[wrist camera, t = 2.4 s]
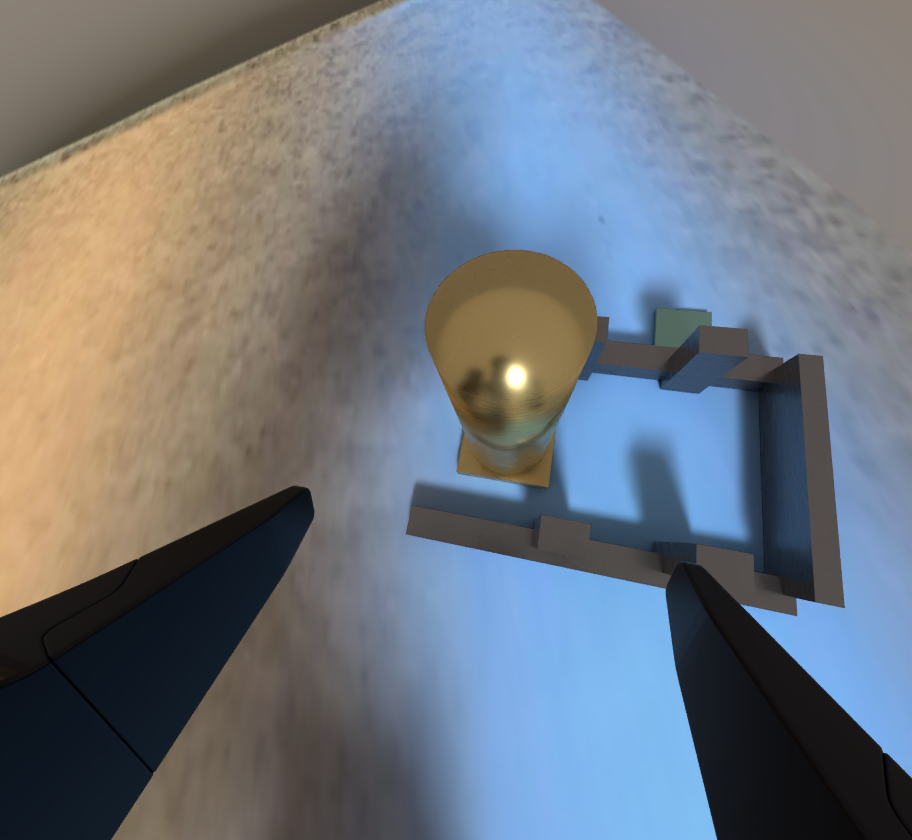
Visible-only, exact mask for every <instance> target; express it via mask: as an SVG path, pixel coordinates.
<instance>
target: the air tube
mask: <svg viewBox="0 0 912 840" xmlns="http://www.w3.org/2000/svg"><path fill="white" fill-rule="evenodd" d="M596 332H597V312H596V307H595V303H594V300H593V297H592V295H591V293H590V291H589V289H588V287H587V286H586V284H585V283H584V281H583V280H582V279H581V278H580V277H579V276H578V275H577V274H576V273H575V272H574V271H573V270H572V269H571V268H569V267H568V266H567V265H565V264H563V263H562V262H560V261H558V260H556V259H554V258H552V257H550V256H547V255H544V254H541V253H537V252H532V251H525V250H504V251H497V252H492V253H488V254H485V255H482V256H479V257H477V258H474V259H472V260H470V261H468V262H466V263H465V264H463V265H461V266H460V267H458V268H457V269H456V270H454V271H453V272H452V273H451V274H450V275H449V276H448V277H447V278H446V279H445V280H444V281H443V282H442V283H441V285H440V286H439V287H438V289H437V290H436V292H435V293H434V295H433V297H432V299H431V301H430V304H429V307H428V310H427V313H426V319H425V336H426V342H427V346H428V350H429V352H430V354H431V357H432V359H433V361H434V364H435V366H436V368H437V370H438V373H439V375H440V377H441V380H442V382H443V384H444V387H445V389H446V391H447V393H448V396H449V398H450V400H451V403H452V405H453V407H454V410H455V412H456V414H457V416H458V419H459V421H460V423H461V426H462V428H463V430H464V435H463V441H462V446H461V451H460V456H459V462H458V467H457V473H458V474H463V475H468V476H474V477H480V478H486V479H491V480H497V481H503V482H509V483H515V484H520V485H526V486H532V487H538V488H544V489H548V487H549V480H550V472H551V463H552V455H553V447H554V439H555V430H556V427H557V425H558V423H559V421H560V418H561V416H562V414H563V412H564V409H565V407H566V405H567V403H568V401H569V398H570V396H571V394H572V392H573V389H574V387H575V385H576V383H577V380H578V378H579V376H580V374H581V372H582V369H583V367H584V365H585V363H586V360H587V358H588V356H589V354H590V352H591V349H592V347H593V344H594V341H595V337H596Z"/></svg>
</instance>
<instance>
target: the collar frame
mask: <svg viewBox="0 0 912 840" xmlns="http://www.w3.org/2000/svg"><path fill="white" fill-rule="evenodd" d="M608 324H609V317H599V316H597V332H596V337H595V341H594V344H593V347H592V349H591V352H590V354H589V356H588V358H587V360H586V363H585V365H584V367H583V369H582V372H581V374H580V376H579V378H578V380H587V381H588V379H589V377H590V375H591V373H601V374H610V375H619V376H627V377H636V378H645V379H654V380H661V386H660V389H663V390H672V391H680V392H689V393H697V394H699V393H700V392H702V391H703V390H704V389H706V388H707V387H708V386H715V387H724V388H733V389H742V390H751V391H759V418H760V447H761V476H762V506H763V535H764V565H765V574H764V573H758V572H754V554H749V553H744V552H738V551H733V550H728V549H722V548H717V547H711V546H706V545H701V544H692V543H673V542H654V549H653V552H650V551H645V550H640V549H635V548H629V547H624V546H619V545H614V544H609V543H604V542H598V541H593V540H590V528H591V524H588V523H582V522H577V521H572V520H566V519H561V518H556V517H550V516H545V515H541V516H539V517H537V518H535V519H534V527H533V529H531V528H526V527H521V526H516V525H511V524H505V523H500V522H495V521H490V520H485V519H480V518H474V517H469V516H464V515H459V514H454V513H449V512H443V511H438V510H433V509H428V508H423V507H418V506H412V508H411V512H410V517H409V522H408V526H407V531H406V534H407V535H412V536H417V537H422V538H426V539H431V540H436V541H441V542H445V543H450V544H455V545H460V546H465V547H469V548H474V549H479V550H484V551H488V552H493V553H498V554H503V555H508V556H512V557H517V558H522V559H527V560H531V561H536V562H541V563H546V564H551V565H555V566H560V567H565V568H570V569H574V570H579V571H584V572H589V573H594V574H598V575H603V576H608V577H613V578H617V579H622V580H627V581H632V582H637V583H641V584H646V585H651V586H656V587H660V588H665V589H666V586H667V583H668V581H669V579H670V577H671V575H672V573H673V571H674V569H675V567H676V565H677V563H679V562H680V561H684V562H689V563H694V564H699V565H701V566H702V567H703V568H705V569H706V570H707V571H708V572H709V573H710V574H711V575H712V577H713V578H714V579H715V580H716V581H717V582H718V583H719V584H720V585H721V586H722V587H723V588H724V589H725V590H726V591H727V592H728V593H729V594H730V595H731V596H732V597H733V598H734V599H735V600H736V601H737V602H738V603H739V604H742V605H746V606H751V607H756V608H761V609H766V610H770V611H775V612H780V613H785V614H789V615H794V616H797V604H796V598H799V599H803V600H808V601H812V602H817V603H822V604H827V605H832V606H837V607H842V608H845V606H844V594H843V583H842V571H841V560H840V548H839V537H838V525H837V514H836V502H835V491H834V479H833V467H832V456H831V444H830V433H829V421H828V410H827V398H826V387H825V375H824V364H823V356H816V355H806V354H798V355H796V356H794V357H793V358H791V359H789V360H788V361H786V362H785V363H783V358H779V357H769V356H759V355H748V329H738V328H727V327H715V326H712V312H701V311H688V310H676V309H664V308H656V310H655V318H654V338H653V345H646V344H636V343H625V342H615V341H607V335H608Z"/></svg>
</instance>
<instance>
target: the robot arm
mask: <svg viewBox="0 0 912 840" xmlns="http://www.w3.org/2000/svg"><path fill="white" fill-rule="evenodd" d="M313 518H314V507H313V502H312V497H311V492H310V490H309V489H308V488H305V487H300V486H291V487H289V488H287V489H285V490H283V491H281V492H278V493H276V494H274V495H272V496H270V497H268V498H266V499H263V500H261V501H259V502H257V503H255V504H253V505H251V506H248V507H246V508H244V509H242V510H240V511H238V512H236V513H234V514H231V515H229V516H227V517H225V518H223V519H221V520H219V521H216V522H214V523H212V524H210V525H208V526H206V527H204V528H201V529H199V530H197V531H195V532H193V533H191V534H189V535H186V536H184V537H182V538H180V539H178V540H176V541H174V542H171V543H169V544H167V545H165V546H163V547H161V548H159V549H156V550H154V551H152V552H150V553H148V554H146V555H144V556H142V557H140V558H139V559H135V560H133V561H131V562H129V563H126V564H124V565H122V566H120V567H118V568H116V569H114V570H111V571H109V572H107V573H105V574H102V575H100V576H98V577H96V578H94V579H91V580H89V581H87V582H85V583H82V584H80V585H78V586H75V587H73V588H71V589H68V590H66V591H63V592H61V593H59V594H56V595H54V596H52V597H49V598H47V599H44V600H42V601H39V602H37V603H34V604H32V605H30V606H27V607H25V608H22V609H20V610H17V611H15V612H13V613H10V614H8V615H5V616H3V617H0V840H111V839H112V837H113V836H114V834H115V833H116V831H117V830H118V828H119V826H120V825H121V823H122V822H123V820H124V819H125V817H126V816H127V814H128V813H129V811H130V810H131V808H132V807H133V805H134V804H135V802H136V801H137V799H138V797H139V796H140V794H141V793H142V791H143V790H144V788H145V787H146V785H147V784H148V782H149V781H150V779H151V778H152V776H153V772H155V771H156V769H157V768H158V766H159V765H160V763H161V762H162V760H163V759H164V757H165V756H166V754H167V753H168V751H169V750H170V748H171V746H172V745H173V743H174V742H175V740H176V739H177V737H178V736H179V734H180V733H181V731H182V730H183V728H184V727H185V725H186V724H187V722H188V720H189V719H190V717H191V716H192V714H193V713H194V711H195V710H196V708H197V707H198V705H199V704H200V702H201V701H202V699H203V698H204V696H205V694H206V693H207V691H208V690H209V688H210V687H211V685H212V684H213V682H214V681H215V679H216V678H217V676H218V675H219V673H220V672H221V670H222V668H223V667H224V665H225V664H226V662H227V661H228V659H229V658H230V656H231V655H232V653H233V652H234V650H235V649H236V647H237V646H238V644H239V642H240V641H241V639H242V638H243V636H244V635H245V633H246V632H247V630H248V629H249V627H250V626H251V624H252V623H253V621H254V620H255V618H256V616H257V615H258V613H259V612H260V610H261V609H262V607H263V606H264V604H265V603H266V601H267V600H268V598H269V597H270V595H271V594H272V592H273V590H274V589H275V587H276V586H277V584H278V583H279V581H280V580H281V578H282V577H283V575H284V573H285V572H286V570H287V568H288V566H289V565H290V563H291V561H292V559H293V557H294V555H295V553H296V551H297V549H298V547H299V545H300V544H301V542H302V540H303V538H304V536H305V534H306V532H307V530H308V528H309V526H310V524H311V522H312V520H313ZM666 601H667V608H668V616H669V623H670V631H671V638H672V646H673V654H674V660H675V667H676V671H677V676H678V681H679V685H680V689H681V693H682V697H683V701H684V705H685V709H686V713H687V718H688V722H689V726H690V730H691V734H692V738H693V742H694V746H695V750H696V755H697V759H698V763H699V767H700V771H701V775H702V779H703V783H704V787H705V792H706V796H707V800H708V804H709V808H710V812H711V816H712V820H713V824H714V828H715V833H716V837H717V840H912V778H911V777H910V776H909V775H908V774H907V773H906V772H905V771H904V770H903V769H902V768H901V767H900V766H899V765H898V764H897V763H896V762H895V761H894V760H893V759H892V758H891V757H890V756H889V755H888V754H886V753H883V751H882V748H881V747H880V746H879V745H878V744H877V743H876V742H875V741H874V740H873V739H872V738H871V737H870V736H869V735H868V734H867V733H866V732H865V731H864V730H863V729H862V728H861V726H860V725H859V724H858V723H857V722H856V721H855V720H854V719H853V718H852V717H851V716H850V715H849V714H848V713H847V712H846V711H845V710H844V709H843V708H842V707H841V706H840V705H839V704H838V703H837V702H836V701H835V700H834V699H833V698H832V697H831V696H830V695H829V694H828V693H827V692H826V691H825V690H824V689H823V688H822V687H821V686H820V685H819V684H818V683H817V682H816V681H815V680H814V679H813V678H812V677H811V676H810V675H809V674H808V673H807V672H806V671H805V670H804V669H803V668H802V667H801V666H800V665H799V664H798V663H797V662H796V661H795V660H794V659H793V658H792V657H791V656H790V655H789V654H788V653H787V651H786V650H785V649H784V648H783V647H782V646H781V645H780V644H779V643H778V642H777V641H776V640H775V639H774V638H773V637H772V636H771V635H770V634H769V633H768V632H767V631H766V630H765V629H764V628H763V627H762V626H761V625H760V624H759V623H758V622H757V621H756V620H755V619H754V618H753V617H752V616H751V615H750V614H749V613H748V612H747V611H746V610H745V609H744V608H743V607H742V606H741V605H740V604H739V603H738V602H737V601H736V600H735V599H734V598H733V597H732V596H731V595H730V594H729V593H728V592H727V591H726V590H725V589H724V588H723V587H722V586H721V585H720V584H719V583H718V582H717V581H716V580H715V579H714V578H713V577H712V575H711V574H710V573H709V572H708V571H707V570H706V569H705V568H703V567H702V566H701V565H699V564H694V563H689V562H684V561H680V562H679V563H677V565H676V567H675V569H674V571H673V573H672V575H671V577H670V579H669V581H668V583H667V586H666Z"/></svg>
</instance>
